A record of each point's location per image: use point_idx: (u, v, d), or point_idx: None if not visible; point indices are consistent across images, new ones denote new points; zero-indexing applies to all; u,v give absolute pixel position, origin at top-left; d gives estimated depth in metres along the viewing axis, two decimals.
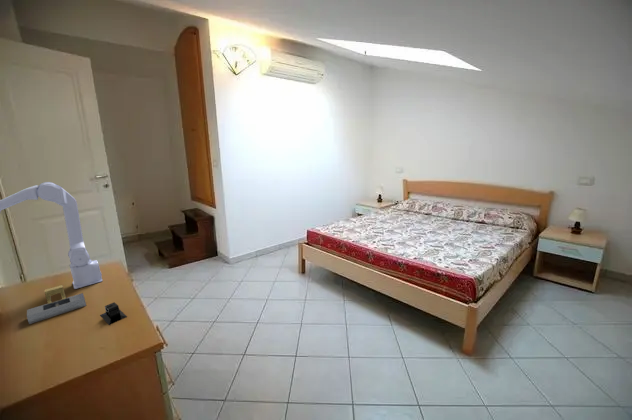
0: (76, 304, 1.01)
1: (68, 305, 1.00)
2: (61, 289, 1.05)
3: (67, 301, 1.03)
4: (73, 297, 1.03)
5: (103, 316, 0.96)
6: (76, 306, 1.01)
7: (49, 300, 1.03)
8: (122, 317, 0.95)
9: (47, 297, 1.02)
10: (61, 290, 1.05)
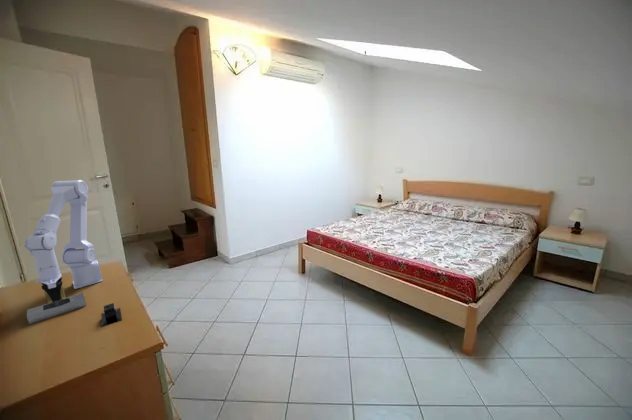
0: (76, 304, 1.01)
1: (68, 305, 1.00)
2: (61, 289, 1.05)
3: (67, 301, 1.03)
4: (73, 297, 1.03)
5: (103, 315, 0.97)
6: (76, 306, 1.01)
7: (49, 300, 1.03)
8: (116, 320, 0.94)
9: (47, 297, 1.02)
10: (61, 290, 1.05)
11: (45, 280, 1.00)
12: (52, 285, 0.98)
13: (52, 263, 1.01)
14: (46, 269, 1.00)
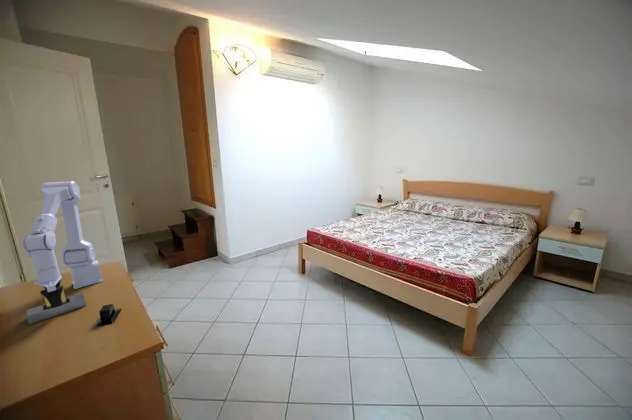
0: (76, 304, 1.01)
1: (68, 305, 1.00)
2: (62, 294, 0.99)
3: (67, 301, 1.03)
4: (73, 297, 1.03)
5: None
6: (76, 306, 1.01)
7: (49, 306, 0.97)
8: (109, 322, 0.93)
9: (47, 303, 0.97)
10: (62, 295, 0.99)
11: (44, 282, 0.94)
12: (51, 288, 0.92)
13: (53, 264, 0.96)
14: (45, 271, 0.94)
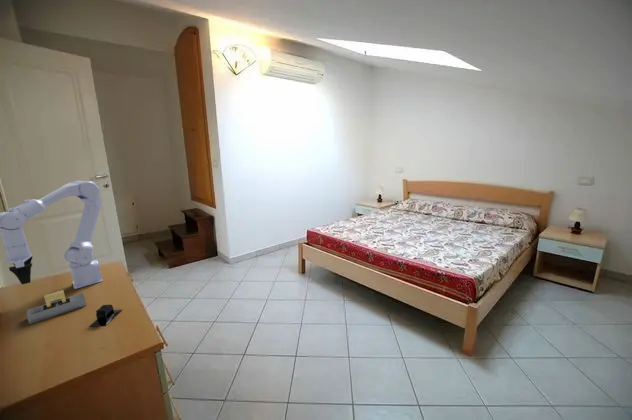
0: (76, 304, 1.01)
1: (68, 305, 1.00)
2: (62, 294, 0.99)
3: (67, 301, 1.03)
4: (73, 297, 1.03)
5: None
6: (76, 306, 1.01)
7: (49, 306, 0.97)
8: (103, 324, 0.92)
9: (47, 303, 0.97)
10: (62, 295, 0.99)
11: (13, 259, 0.98)
12: (20, 264, 0.96)
13: (15, 244, 0.98)
14: (14, 248, 0.98)
